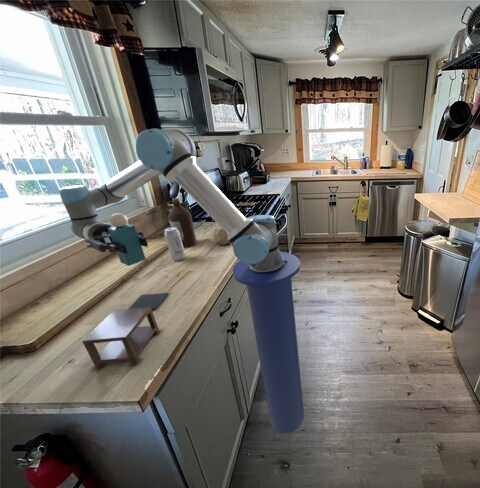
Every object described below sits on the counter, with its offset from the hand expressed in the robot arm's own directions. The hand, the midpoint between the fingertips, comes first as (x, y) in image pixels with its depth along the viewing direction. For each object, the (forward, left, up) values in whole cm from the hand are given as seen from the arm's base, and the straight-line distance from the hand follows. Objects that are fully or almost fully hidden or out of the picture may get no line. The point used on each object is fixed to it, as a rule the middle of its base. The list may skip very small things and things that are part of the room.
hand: (135, 245), depth 80 cm
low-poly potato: (-10, -56, -23) cm, 62 cm away
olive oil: (+11, -57, -23) cm, 63 cm away
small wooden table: (-2, +19, -23) cm, 30 cm away
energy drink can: (+8, -39, -23) cm, 46 cm away
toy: (+4, -3, -6) cm, 8 cm away
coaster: (+4, -3, -23) cm, 24 cm away
